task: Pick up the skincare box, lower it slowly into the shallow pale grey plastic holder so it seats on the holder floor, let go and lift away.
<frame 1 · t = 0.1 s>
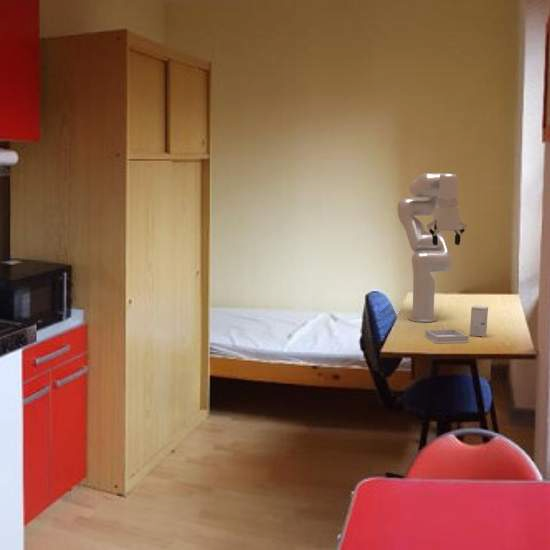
hand: (446, 244, 328), 37 cm above the table, tool pointing down, fingers open, 9 cm apart
holder: (446, 339, 317), on the table
skincare box: (478, 335, 324), on the table
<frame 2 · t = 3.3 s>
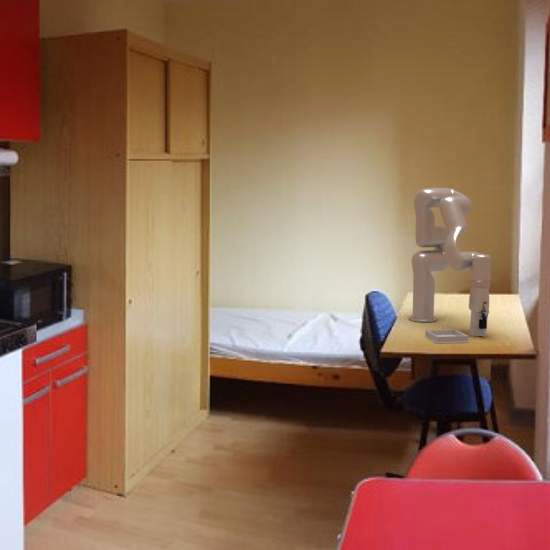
hand: (478, 326, 324), 4 cm above the table, tool pointing down, fingers closed on skincare box, 6 cm apart
skincare box: (478, 335, 324), on the table, touching gripper
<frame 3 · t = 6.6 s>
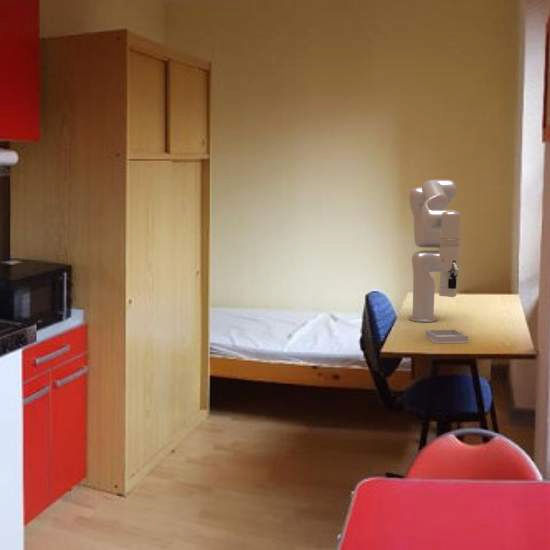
hand: (448, 286, 314), 21 cm above the table, tool pointing down, fingers closed on skincare box, 6 cm apart
skincare box: (448, 296, 314), point 17 cm above the table, touching gripper
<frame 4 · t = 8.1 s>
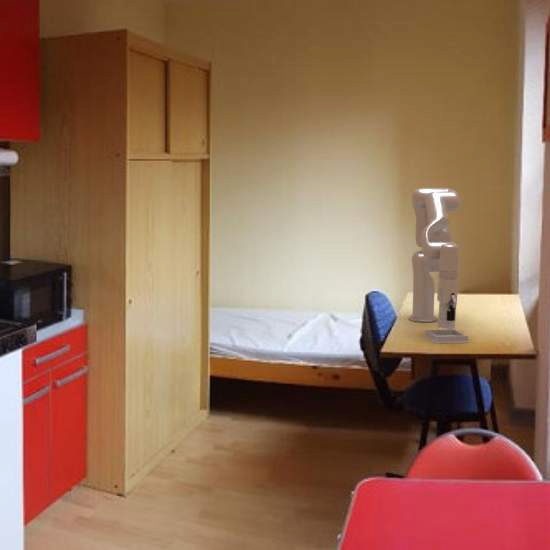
hand: (447, 318, 315), 9 cm above the table, tool pointing down, fingers closed on skincare box, 6 cm apart
skincare box: (446, 328, 316), point 5 cm above the table, touching gripper
when the fingers open (5 cm above the table, at t = 9.6 s): skincare box stays where it is, resting on holder.
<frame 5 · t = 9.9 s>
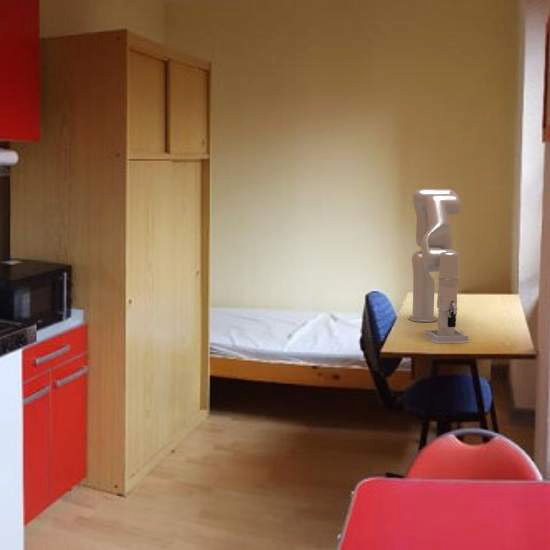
hand: (446, 324, 316), 6 cm above the table, tool pointing down, fingers open, 9 cm apart
skincare box: (446, 338, 317), resting on holder
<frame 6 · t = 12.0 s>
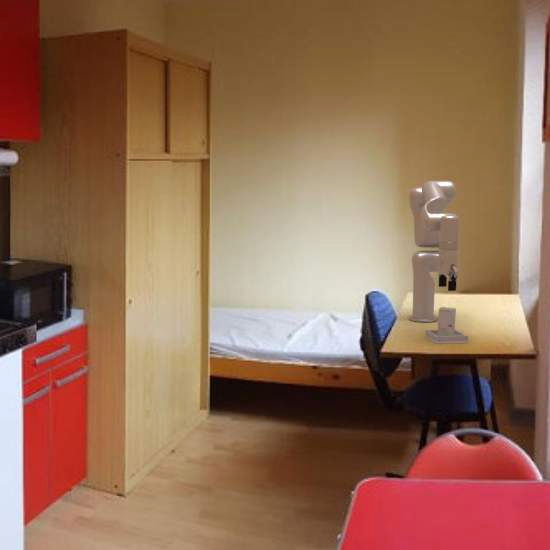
hand: (447, 288, 315), 21 cm above the table, tool pointing down, fingers open, 9 cm apart
nothing on the table moved.
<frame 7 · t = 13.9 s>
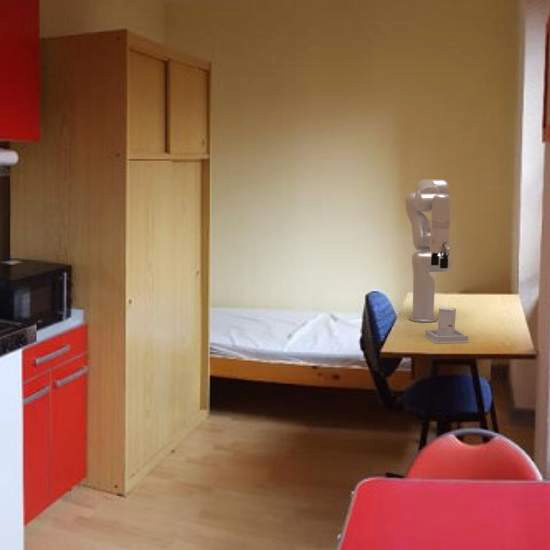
hand: (439, 266, 322), 28 cm above the table, tool pointing down, fingers open, 9 cm apart
nothing on the table moved.
at the end: skincare box 0.4 cm from the holder (horizontally); skincare box resting on holder; skincare box tilted 0° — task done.
